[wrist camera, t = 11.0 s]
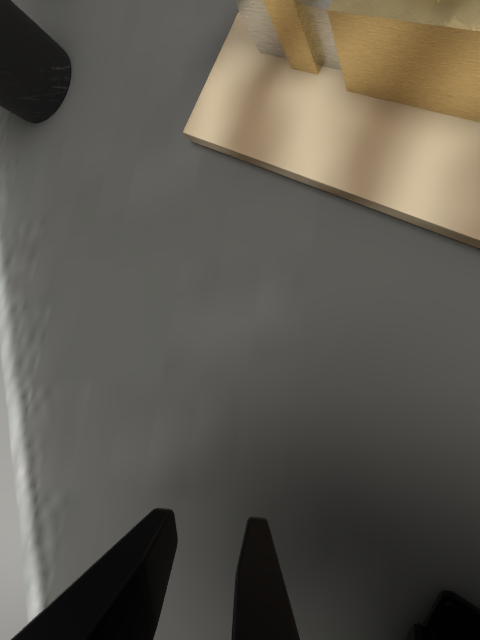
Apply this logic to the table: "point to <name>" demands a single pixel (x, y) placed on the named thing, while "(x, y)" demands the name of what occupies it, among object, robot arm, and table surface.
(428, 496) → the table surface
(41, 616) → the robot arm
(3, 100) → the travel mug
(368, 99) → the oak board
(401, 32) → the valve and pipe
